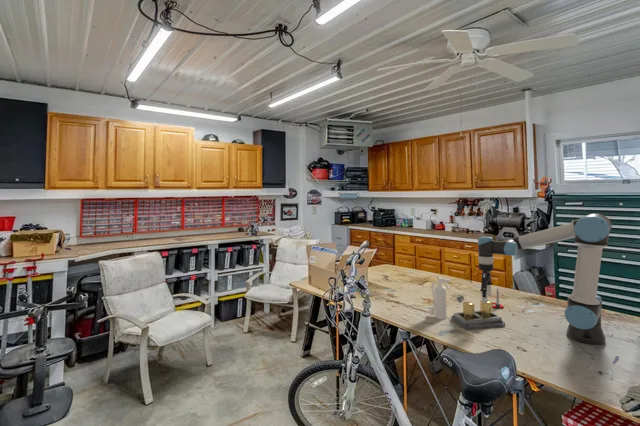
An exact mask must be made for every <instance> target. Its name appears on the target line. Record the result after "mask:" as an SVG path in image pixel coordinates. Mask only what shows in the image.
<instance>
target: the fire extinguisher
mask: <svg viewBox="0 0 640 426" xmlns="http://www.w3.org/2000/svg"><path fill="white" fill-rule="evenodd" d="M449 282H451V279H450V278H447V277H442V276H441V277H440V276H439V277H438V279H437V281H434V282H432V283H431V287H430V288H431V292H432V300H433V301H432V302H433V303H432V304H433V305H432V307H431V309H429V312H428V314H429V315H430V316H435V319H437V320H446V319H447V289H448V290H449V289H450V285H449V284H448V283H449ZM435 284H438V285H436V286H435V287H434V285H435ZM443 284H444V285H445V286H446V287H445V286H444V285H443Z"/></svg>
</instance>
